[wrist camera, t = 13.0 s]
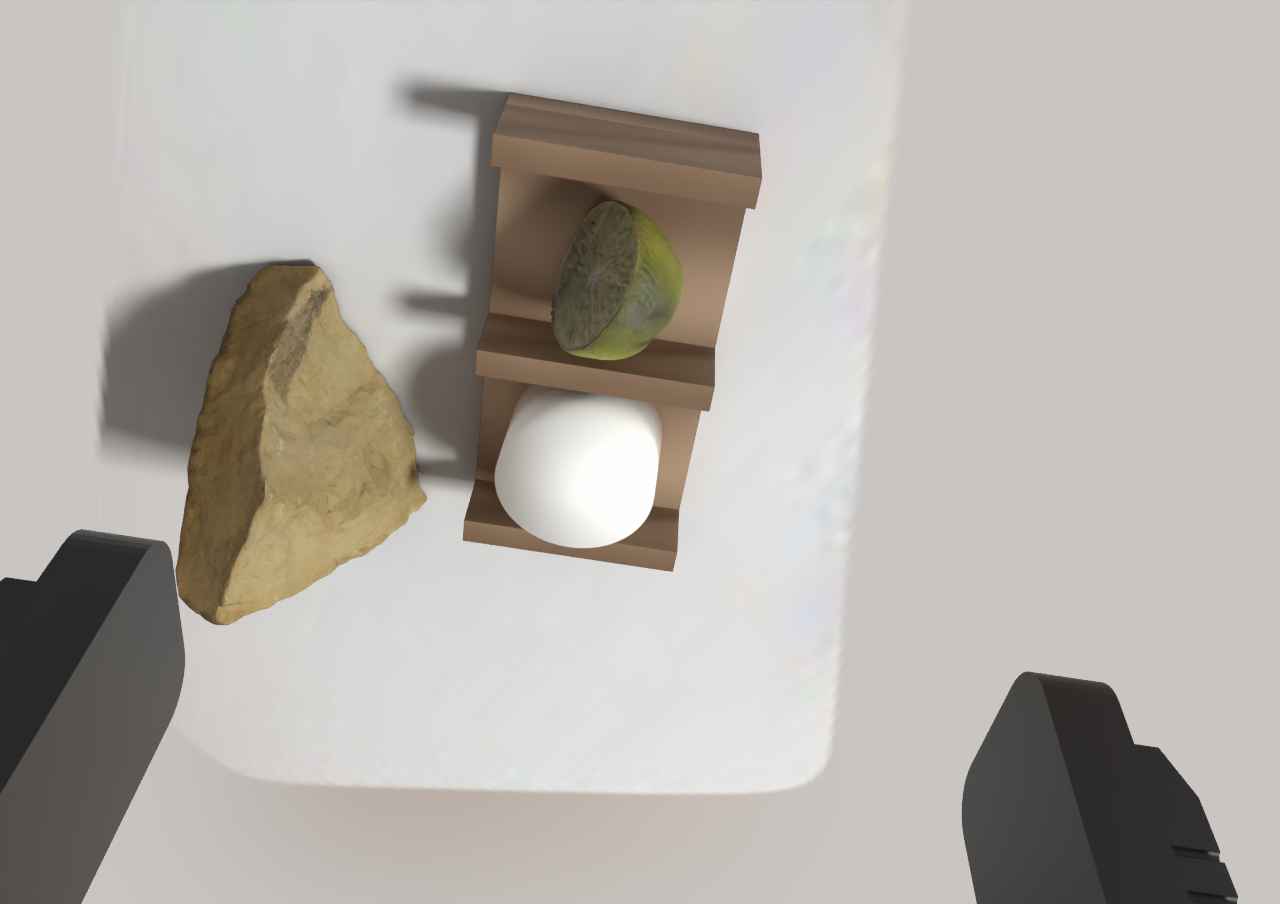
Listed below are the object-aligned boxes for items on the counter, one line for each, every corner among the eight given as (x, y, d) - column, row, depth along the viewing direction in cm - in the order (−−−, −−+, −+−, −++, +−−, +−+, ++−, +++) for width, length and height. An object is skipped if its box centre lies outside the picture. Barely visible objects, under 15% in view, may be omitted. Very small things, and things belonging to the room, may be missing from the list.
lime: (559, 313, 40) (541, 393, 36) (545, 182, 37) (524, 253, 33) (688, 311, 39) (684, 391, 35) (683, 178, 36) (679, 249, 32)
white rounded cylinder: (486, 392, 42) (465, 448, 39) (624, 345, 40) (613, 401, 37) (553, 503, 45) (539, 564, 42) (685, 465, 43) (679, 525, 40)
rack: (510, 92, 36) (492, 133, 33) (758, 133, 36) (761, 178, 34) (478, 482, 46) (462, 540, 43) (675, 512, 46) (672, 571, 43)
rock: (160, 236, 37) (114, 480, 42) (254, 378, 32) (191, 638, 37) (445, 259, 44) (380, 465, 49) (558, 378, 39) (474, 596, 44)
